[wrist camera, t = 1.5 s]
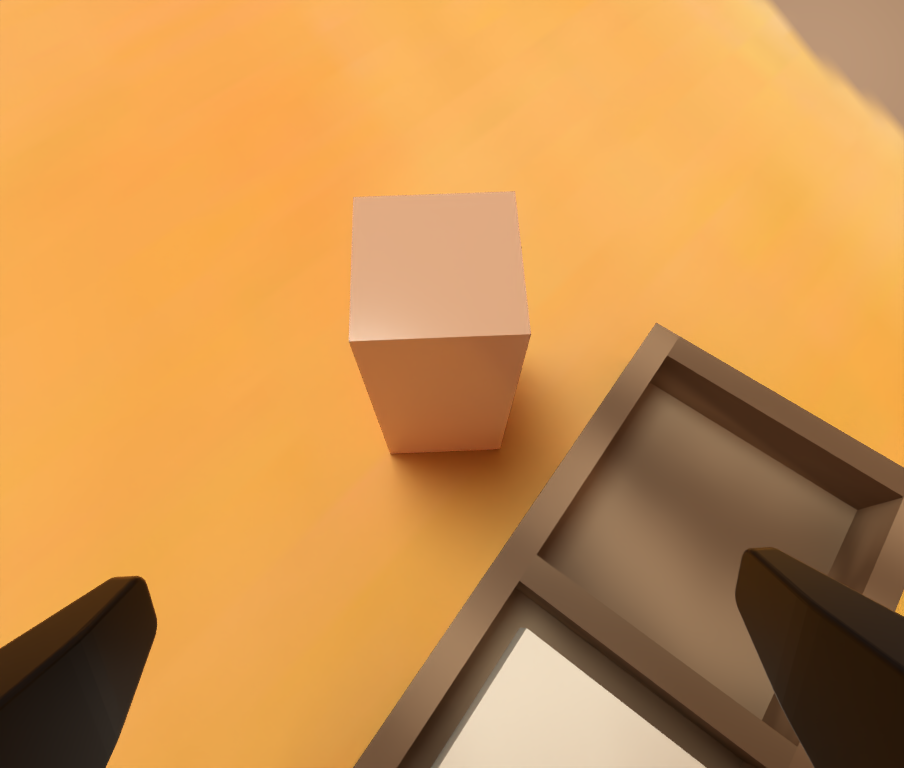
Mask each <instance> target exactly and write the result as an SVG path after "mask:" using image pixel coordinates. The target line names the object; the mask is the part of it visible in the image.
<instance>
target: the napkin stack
mask: <svg viewBox="0 0 904 768" xmlns="http://www.w3.org/2000/svg"><path fill="white" fill-rule="evenodd" d="M431 768H706V767H705V766H704V765H702V764H701V763H700V762H699V761H697V760H696V759H695V758H693V757H692V756H691V755H690V754H688V753H687V752H686V751H684V750H683V749H682V748H680V747H679V746H678V745H677V744H675V743H674V742H673V741H671V740H670V739H669V738H668V737H666V736H665V735H664V734H662V733H661V732H660V731H659V730H657V729H656V728H655V727H653V726H652V725H651V724H650V723H648V722H647V721H646V720H644V719H643V718H642V717H641V716H639V715H638V714H637V713H635V712H634V711H633V710H632V709H630V708H629V707H628V706H626V705H625V704H624V703H623V702H621V701H620V700H619V699H617V698H616V697H615V696H614V695H612V694H611V693H610V692H608V691H607V690H606V689H605V688H603V687H602V686H601V685H599V684H598V683H597V682H596V681H594V680H593V679H592V678H590V677H589V676H588V675H586V674H585V673H584V672H583V671H581V670H580V669H579V668H577V667H576V666H575V665H574V664H572V663H571V662H570V661H568V660H567V659H566V658H565V657H563V656H562V655H561V654H559V653H558V652H557V651H556V650H554V649H553V648H552V647H550V646H549V645H548V644H547V643H545V642H544V641H543V640H541V639H540V638H539V637H538V636H536V635H535V634H534V633H532V632H531V631H530V630H529V629H527V628H519V630H518V631H517V633H516V634H515V636H514V638H513V639H512V641H511V642H510V644H509V645H508V647H507V649H506V650H505V652H504V653H503V655H502V656H501V658H500V660H499V661H498V663H497V664H496V666H495V667H494V669H493V671H492V672H491V674H490V675H489V677H488V678H487V680H486V682H485V683H484V685H483V686H482V688H481V689H480V691H479V693H478V694H477V696H476V697H475V699H474V700H473V702H472V704H471V705H470V707H469V708H468V710H467V712H466V713H465V715H464V716H463V718H462V719H461V721H460V723H459V724H458V726H457V727H456V729H455V730H454V732H453V734H452V735H451V737H450V738H449V740H448V741H447V743H446V745H445V746H444V748H443V749H442V751H441V752H440V754H439V756H438V757H437V759H436V760H435V762H434V763H433V765H432V767H431Z"/></svg>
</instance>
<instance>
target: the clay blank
mask: <svg viewBox="0 0 904 768" xmlns="http://www.w3.org/2000/svg"><path fill="white" fill-rule="evenodd" d="M530 335H531V331H530V322H529V313H528V304H527V295H526V286H525V277H524V268H523V259H522V250H521V241H520V232H519V223H518V214H517V205H516V196H515V191H514V192H486V193H457V194H429V195H401V196H373V197H353V227H352V258H351V290H350V322H349V343H350V346H351V348H352V351H353V354H354V357H355V359H356V362H357V365H358V367H359V370H360V373H361V375H362V378H363V381H364V384H365V386H366V389H367V392H368V394H369V397H370V400H371V403H372V405H373V408H374V411H375V413H376V416H377V419H378V422H379V424H380V427H381V430H382V432H383V435H384V438H385V441H386V443H387V446H388V449H389V451H390V454H398V453H421V452H444V451H468V450H491V449H500V447H501V443H502V439H503V436H504V432H505V428H506V425H507V421H508V417H509V413H510V410H511V406H512V402H513V399H514V395H515V391H516V387H517V384H518V380H519V376H520V373H521V369H522V365H523V361H524V358H525V354H526V350H527V347H528V343H529V339H530Z"/></svg>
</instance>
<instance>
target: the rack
mask: <svg viewBox="0 0 904 768" xmlns="http://www.w3.org/2000/svg"><path fill="white" fill-rule="evenodd" d="M760 547H773V548H776V549H779V550H780V551H782V552H784V553H786V554H788V555H790V556H792V557H794V558H795V559H797V560H799V561H801V562H803V563H805V564H807V565H808V566H810V567H812V568H814V569H816V570H818V571H820V572H821V573H823V574H825V575H827V576H829V577H831V578H833V579H835V580H836V581H838V582H840V583H842V584H844V585H846V586H848V587H849V588H851V589H853V590H855V591H857V592H859V593H861V594H862V595H864V596H866V597H868V598H870V599H872V600H874V601H876V602H877V603H879V604H881V605H883V606H885V607H887V608H889V609H890V610H892V611H894V612H895V610H896V607H897V605H898V602H899V600H900V597H901V595H902V592H903V590H904V468H903V467H902V466H900V465H898V464H896V463H895V462H893V461H891V460H890V459H888V458H886V457H885V456H883V455H881V454H879V453H878V452H876V451H874V450H873V449H871V448H869V447H867V446H866V445H864V444H862V443H861V442H859V441H857V440H856V439H854V438H852V437H850V436H849V435H847V434H845V433H844V432H842V431H840V430H838V429H837V428H835V427H833V426H832V425H830V424H828V423H827V422H825V421H823V420H821V419H820V418H818V417H816V416H815V415H813V414H811V413H809V412H808V411H806V410H804V409H803V408H801V407H799V406H798V405H796V404H794V403H792V402H791V401H789V400H787V399H786V398H784V397H782V396H780V395H779V394H777V393H775V392H774V391H772V390H770V389H769V388H767V387H765V386H763V385H762V384H760V383H758V382H757V381H755V380H753V379H751V378H750V377H748V376H746V375H745V374H743V373H741V372H740V371H738V370H736V369H734V368H733V367H731V366H729V365H728V364H726V363H724V362H722V361H721V360H719V359H717V358H716V357H714V356H712V355H711V354H709V353H707V352H705V351H704V350H702V349H700V348H699V347H697V346H695V345H693V344H692V343H690V342H688V341H687V340H685V339H683V338H682V337H680V336H678V335H676V334H675V333H673V332H671V331H670V330H668V329H666V328H664V327H663V326H661V325H659V324H658V323H656V324H655V325H654V327H653V328H652V330H651V331H650V333H649V334H648V336H647V337H646V339H645V340H644V342H643V343H642V345H641V346H640V347H639V349H638V350H637V352H636V353H635V355H634V356H633V358H632V359H631V361H630V362H629V364H628V365H627V367H626V368H625V370H624V371H623V372H622V374H621V375H620V377H619V378H618V380H617V381H616V383H615V384H614V386H613V387H612V389H611V390H610V392H609V393H608V394H607V396H606V397H605V399H604V400H603V402H602V403H601V405H600V406H599V408H598V409H597V411H596V412H595V414H594V415H593V417H592V418H591V419H590V421H589V422H588V424H587V425H586V427H585V428H584V430H583V431H582V433H581V434H580V436H579V437H578V439H577V440H576V441H575V443H574V444H573V446H572V447H571V449H570V450H569V452H568V453H567V455H566V456H565V458H564V459H563V461H562V462H561V463H560V465H559V466H558V468H557V469H556V471H555V472H554V474H553V475H552V477H551V478H550V480H549V481H548V483H547V484H546V486H545V487H544V488H543V490H542V491H541V493H540V494H539V496H538V497H537V499H536V500H535V502H534V503H533V505H532V506H531V508H530V509H529V510H528V512H527V513H526V515H525V516H524V518H523V519H522V521H521V522H520V524H519V525H518V527H517V528H516V530H515V531H514V532H513V534H512V535H511V537H510V538H509V540H508V541H507V543H506V544H505V546H504V547H503V549H502V550H501V552H500V553H499V555H498V556H497V557H496V559H495V560H494V562H493V563H492V565H491V566H490V568H489V569H488V571H487V572H486V574H485V575H484V577H483V578H482V579H481V581H480V582H479V584H478V585H477V587H476V588H475V590H474V591H473V593H472V594H471V596H470V597H469V599H468V600H467V602H466V603H465V604H464V606H463V607H462V609H461V610H460V612H459V613H458V615H457V616H456V618H455V619H454V621H453V622H452V624H451V625H450V626H449V628H448V629H447V631H446V632H445V634H444V635H443V637H442V638H441V640H440V641H439V643H438V644H437V646H436V647H435V648H434V650H433V651H432V653H431V654H430V656H429V657H428V659H427V660H426V662H425V663H424V665H423V666H422V668H421V669H420V671H419V672H418V673H417V675H416V676H415V678H414V679H413V681H412V682H411V684H410V685H409V687H408V688H407V690H406V691H405V693H404V694H403V695H402V697H401V698H400V700H399V701H398V703H397V704H396V706H395V707H394V709H393V710H392V712H391V713H390V715H389V716H388V717H387V719H386V720H385V722H384V723H383V725H382V726H381V728H380V729H379V731H378V732H377V734H376V735H375V737H374V738H373V740H372V741H371V742H370V744H369V745H368V747H367V748H366V750H365V751H364V753H363V754H362V756H361V757H360V759H359V760H358V762H357V763H356V764H355V766H354V767H353V768H431V767H432V765H433V763H434V762H435V760H436V759H437V757H438V756H439V754H440V752H441V751H442V749H443V748H444V746H445V745H446V743H447V741H448V740H449V738H450V737H451V735H452V734H453V732H454V730H455V729H456V727H457V726H458V724H459V723H460V721H461V719H462V718H463V716H464V715H465V713H466V712H467V710H468V708H469V707H470V705H471V704H472V702H473V700H474V699H475V697H476V696H477V694H478V693H479V691H480V689H481V688H482V686H483V685H484V683H485V682H486V680H487V678H488V677H489V675H490V674H491V672H492V671H493V669H494V667H495V666H496V664H497V663H498V661H499V660H500V658H501V656H502V655H503V653H504V652H505V650H506V649H507V647H508V645H509V644H510V642H511V641H512V639H513V638H514V636H515V634H516V633H517V631H518V630H519V628H527V629H529V630H530V631H531V632H532V633H534V634H535V635H536V636H538V637H539V638H540V639H541V640H543V641H544V642H545V643H547V644H548V645H549V646H550V647H552V648H553V649H554V650H556V651H557V652H558V653H559V654H561V655H562V656H563V657H565V658H566V659H567V660H568V661H570V662H571V663H572V664H574V665H575V666H576V667H577V668H579V669H580V670H581V671H583V672H584V673H585V674H586V675H588V676H589V677H590V678H592V679H593V680H594V681H596V682H597V683H598V684H599V685H601V686H602V687H603V688H605V689H606V690H607V691H608V692H610V693H611V694H612V695H614V696H615V697H616V698H617V699H619V700H620V701H621V702H623V703H624V704H625V705H626V706H628V707H629V708H630V709H632V710H633V711H634V712H635V713H637V714H638V715H639V716H641V717H642V718H643V719H644V720H646V721H647V722H648V723H650V724H651V725H652V726H653V727H655V728H656V729H657V730H659V731H660V732H661V733H662V734H664V735H665V736H666V737H668V738H669V739H670V740H671V741H673V742H674V743H675V744H677V745H678V746H679V747H680V748H682V749H683V750H684V751H686V752H687V753H688V754H690V755H691V756H692V757H693V758H695V759H696V760H697V761H699V762H700V763H701V764H702V765H704V766H705V767H706V768H814V766H813V765H812V763H811V761H810V759H809V757H808V756H807V754H806V752H805V750H804V748H803V747H802V745H801V743H800V741H799V739H798V738H797V736H796V734H795V732H794V730H793V728H792V727H791V725H790V723H789V721H788V719H787V717H786V715H785V713H784V712H783V710H782V708H781V706H780V704H779V701H778V699H777V697H776V695H775V693H774V691H773V688H772V686H771V684H770V681H769V679H768V677H767V675H766V672H765V670H764V668H763V665H762V663H761V661H760V658H759V656H758V654H757V651H756V649H755V647H754V644H753V642H752V640H751V638H750V635H749V633H748V631H747V628H746V626H745V624H744V621H743V619H742V617H741V614H740V612H739V610H738V607H737V604H736V599H735V588H736V583H737V578H738V573H739V568H740V563H741V558H742V555H743V553H744V551H745V550H746V549H749V548H760Z"/></svg>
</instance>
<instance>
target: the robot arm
mask: <svg viewBox="0 0 904 768" xmlns="http://www.w3.org/2000/svg"><path fill="white" fill-rule="evenodd" d="M735 599H736V604H737V607H738V610H739V612H740V614H741V617H742V619H743V621H744V624H745V626H746V628H747V631H748V633H749V635H750V638H751V640H752V642H753V644H754V647H755V649H756V651H757V654H758V656H759V658H760V661H761V663H762V665H763V668H764V670H765V672H766V675H767V677H768V679H769V681H770V684H771V686H772V688H773V691H774V693H775V695H776V697H777V699H778V701H779V704H780V706H781V708H782V710H783V712H784V713H785V715H786V717H787V719H788V721H789V723H790V725H791V727H792V728H793V730H794V732H795V734H796V736H797V738H798V739H799V741H800V743H801V745H802V747H803V748H804V750H805V752H806V754H807V756H808V757H809V759H810V761H811V763H812V765H813V766H814V768H904V617H903V616H902V615H900V614H898V613H896V612H894V611H892V610H890V609H889V608H887V607H885V606H883V605H881V604H879V603H877V602H876V601H874V600H872V599H870V598H868V597H866V596H864V595H862V594H861V593H859V592H857V591H855V590H853V589H851V588H849V587H848V586H846V585H844V584H842V583H840V582H838V581H836V580H835V579H833V578H831V577H829V576H827V575H825V574H823V573H821V572H820V571H818V570H816V569H814V568H812V567H810V566H808V565H807V564H805V563H803V562H801V561H799V560H797V559H795V558H794V557H792V556H790V555H788V554H786V553H784V552H782V551H780V550H779V549H776V548H773V547H760V548H749V549H746V550H745V551H744V553H743V555H742V558H741V563H740V568H739V573H738V578H737V583H736V588H735ZM156 630H157V618H156V614H155V610H154V607H153V603H152V600H151V597H150V593H149V590H148V587H147V584H146V581H145V580H144V579H143V578H142V577H139V576H125V577H114V578H111V579H109V580H107V581H106V582H104V583H103V584H101V585H99V586H98V587H96V588H95V589H93V590H92V591H90V592H88V593H87V594H85V595H84V596H82V597H81V598H79V599H77V600H76V601H74V602H73V603H71V604H70V605H68V606H66V607H65V608H63V609H62V610H60V611H59V612H57V613H55V614H54V615H52V616H51V617H49V618H48V619H46V620H44V621H43V622H41V623H40V624H38V625H37V626H35V627H33V628H32V629H30V630H29V631H27V632H25V633H24V634H22V635H21V636H19V637H18V638H16V639H14V640H13V641H11V642H10V643H8V644H7V645H5V646H3V647H2V648H0V768H106V765H107V763H108V761H109V759H110V757H111V754H112V752H113V750H114V748H115V745H116V743H117V741H118V738H119V736H120V733H121V731H122V728H123V725H124V723H125V720H126V717H127V714H128V711H129V709H130V706H131V703H132V700H133V697H134V695H135V692H136V689H137V686H138V683H139V680H140V678H141V675H142V672H143V669H144V666H145V663H146V661H147V658H148V655H149V652H150V649H151V646H152V644H153V641H154V638H155V635H156Z"/></svg>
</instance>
